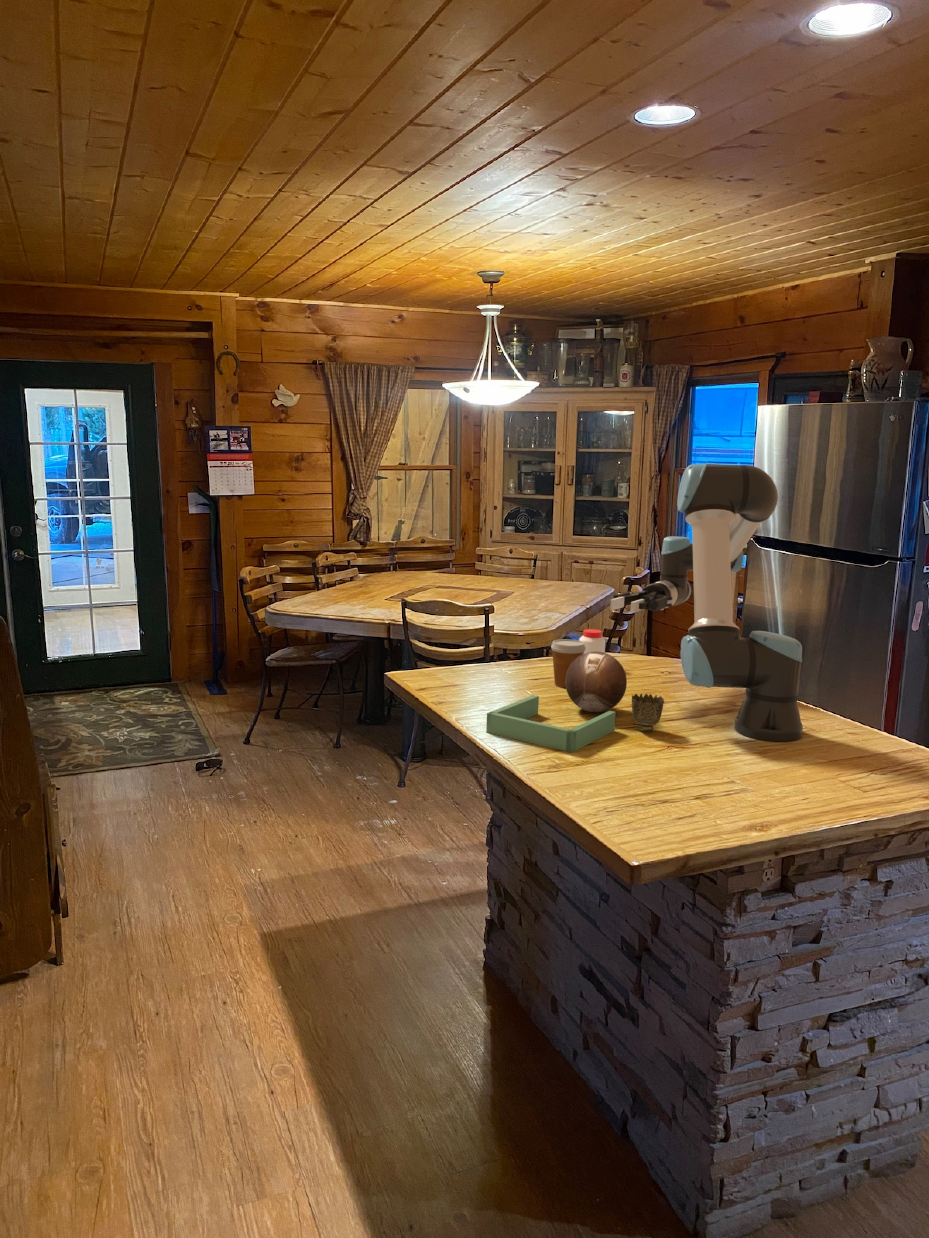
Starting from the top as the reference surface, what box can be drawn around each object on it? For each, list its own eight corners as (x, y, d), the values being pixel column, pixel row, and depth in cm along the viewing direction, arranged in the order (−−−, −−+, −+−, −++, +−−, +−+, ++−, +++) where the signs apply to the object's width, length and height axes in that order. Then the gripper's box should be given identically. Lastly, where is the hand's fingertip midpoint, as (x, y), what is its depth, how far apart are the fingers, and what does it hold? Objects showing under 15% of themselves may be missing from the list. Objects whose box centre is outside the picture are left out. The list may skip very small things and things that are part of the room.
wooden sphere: (564, 718, 221) (567, 657, 218) (563, 701, 236) (566, 644, 233) (627, 721, 220) (631, 660, 217) (622, 704, 235) (625, 647, 232)
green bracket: (532, 712, 225) (533, 695, 224) (614, 730, 212) (615, 711, 211) (486, 732, 208) (486, 713, 207) (572, 752, 196) (573, 732, 195)
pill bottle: (607, 666, 276) (609, 630, 275) (597, 671, 270) (599, 634, 268) (584, 662, 280) (586, 627, 279) (573, 667, 274) (575, 631, 272)
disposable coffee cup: (543, 681, 256) (545, 639, 253) (575, 680, 258) (577, 638, 256) (557, 690, 247) (559, 646, 245) (589, 688, 250) (591, 645, 247)
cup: (661, 736, 209) (664, 702, 207) (629, 733, 210) (631, 700, 209) (661, 727, 216) (664, 694, 214) (629, 724, 217) (632, 691, 216)
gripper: (688, 613, 248) (653, 625, 229) (627, 605, 258) (589, 616, 239) (691, 586, 246) (655, 595, 227) (629, 579, 256) (591, 587, 237)
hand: (621, 606), depth 233 cm, fingers open, 5 cm apart
